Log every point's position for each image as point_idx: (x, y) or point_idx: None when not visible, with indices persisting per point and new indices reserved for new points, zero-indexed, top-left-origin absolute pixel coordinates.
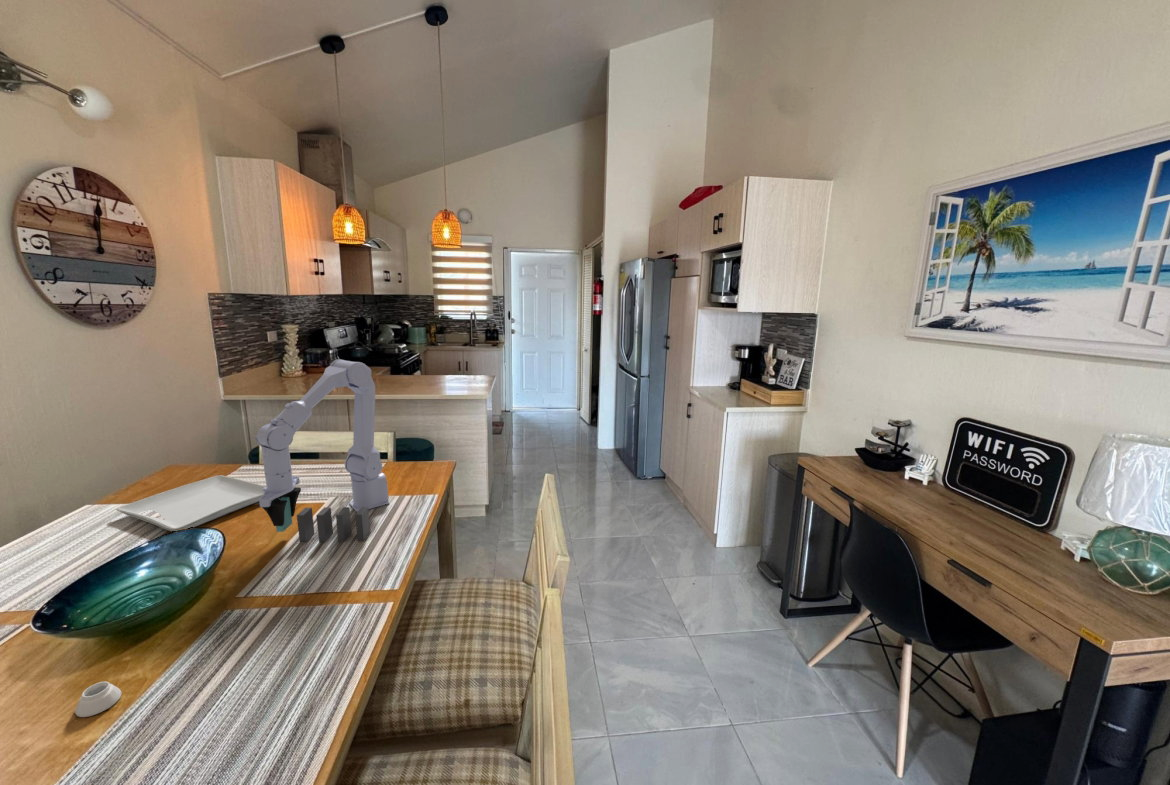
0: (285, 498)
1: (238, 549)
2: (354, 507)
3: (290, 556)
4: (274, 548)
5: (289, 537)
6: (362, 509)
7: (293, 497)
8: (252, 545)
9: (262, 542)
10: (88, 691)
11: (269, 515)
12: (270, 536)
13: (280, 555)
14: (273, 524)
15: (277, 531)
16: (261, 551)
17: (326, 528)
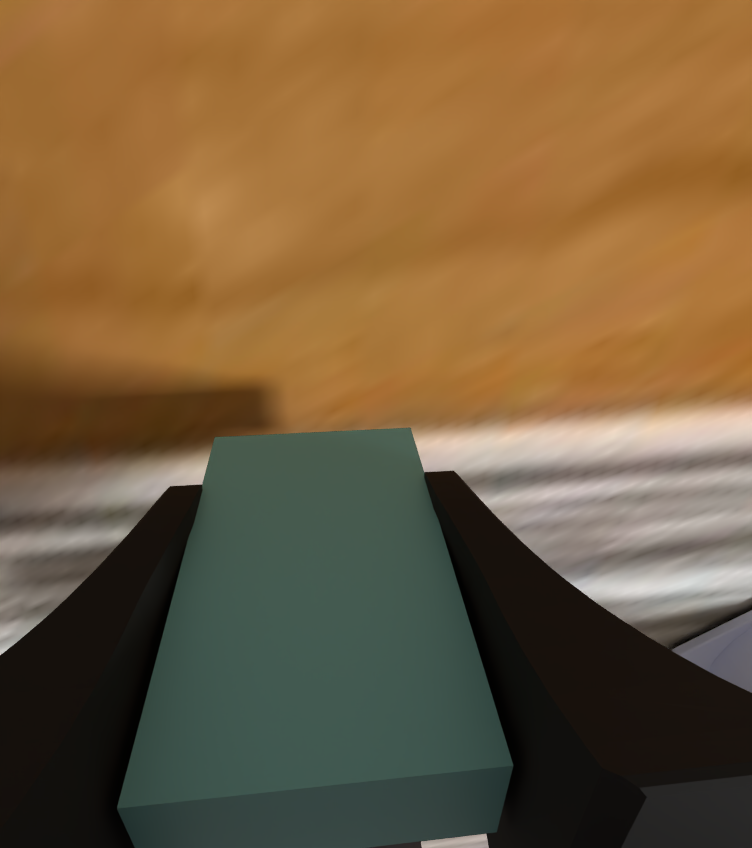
0: (426, 822)
1: (25, 13)
2: (736, 631)
3: (46, 565)
4: (131, 399)
5: (330, 417)
6: None
7: (492, 844)
8: (146, 144)
9: (222, 222)
10: None
11: (64, 610)
12: (351, 233)
13: (39, 499)
14: (159, 499)
15: (213, 447)
16: (55, 317)
17: None
